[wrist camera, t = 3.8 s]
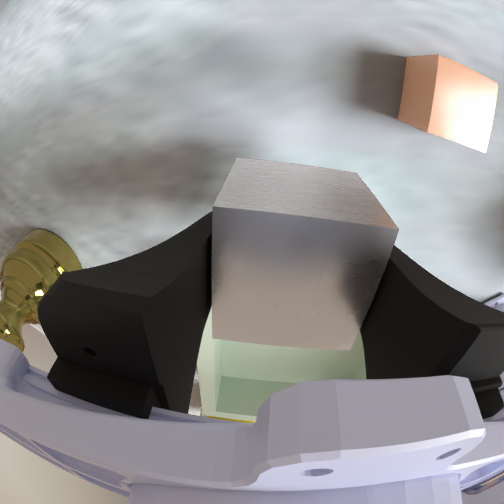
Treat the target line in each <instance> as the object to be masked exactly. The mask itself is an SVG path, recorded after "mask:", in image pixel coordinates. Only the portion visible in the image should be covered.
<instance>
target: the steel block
mask: <svg viewBox="0 0 504 504" xmlns="http://www.w3.org/2000/svg"><path fill="white" fill-rule="evenodd" d="M398 231H399V229H398V227H397V226H396V225H395V223H394V222H393V220H392V219H391V218H390V216H389V215H388V213H387V212H386V211H385V209H384V208H383V206H382V205H381V204H380V202H379V201H378V200H377V198H376V197H375V196H374V194H373V193H372V192H371V191H370V189H369V188H368V187H367V185H366V184H365V183H364V182H363V180H362V179H361V178H360V177H359V175H358V174H357V173H353V172H347V171H341V170H335V169H329V168H323V167H316V166H309V165H302V164H294V163H286V162H278V161H269V160H260V159H249V158H238V157H237V158H236V160H235V162H234V164H233V166H232V168H231V170H230V172H229V174H228V176H227V178H226V180H225V182H224V184H223V186H222V188H221V190H220V192H219V194H218V196H217V198H216V200H215V203H214V205H213V215H212V339H219V340H227V341H235V342H244V343H253V344H262V345H273V346H284V347H296V348H311V349H328V350H350V349H351V347H352V345H353V343H354V341H355V339H356V337H357V334H358V332H359V330H360V328H361V326H362V324H363V321H364V319H365V317H366V315H367V312H368V310H369V308H370V305H371V303H372V301H373V298H374V296H375V293H376V291H377V288H378V286H379V283H380V281H381V278H382V276H383V273H384V270H385V268H386V265H387V262H388V260H389V257H390V254H391V251H392V249H393V246H394V243H395V240H396V237H397V234H398Z"/></svg>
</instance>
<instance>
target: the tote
mask: <svg viewBox="0 0 504 504" xmlns="http://www.w3.org/2000/svg"><path fill="white" fill-rule="evenodd" d="M197 369H198V379H199V388H200V396H201V404H202V412H203V415H207V416H214V417H221V418H228V419H236V420H245V421H256V417H257V413H258V409H259V407H260V406H261V405H262V404H263V403H264V402H265V401H266V400H267V398H268V397H269V396H270V395H271V394H273V393H275V392H276V391H279V390H282V389H284V388H287V387H290V386H293V385H295V384H298V383H300V382H309V381H319V380H329V379H366V367H365V357H364V348H363V342H362V337H361V333H360V330H359V332H358V334H357V337H356V339H355V341H354V343H353V345H352V347H351V349H350V350H328V349H311V348H296V347H284V346H273V345H262V344H253V343H244V342H235V341H227V340H219V339H212V307H211V310H210V313H209V316H208V319H207V321H206V324H205V328H204V331H203V335H202V340H201V345H200V349H199V354H198V359H197Z"/></svg>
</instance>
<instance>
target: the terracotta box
mask: <svg viewBox="0 0 504 504" xmlns="http://www.w3.org/2000/svg"><path fill="white" fill-rule="evenodd" d="M497 91H498V84H497V83H496V82H494V81H492V80H490V79H489V78H487V77H485V76H483V75H481V74H479V73H477V72H475V71H473V70H471V69H469V68H467V67H465V66H463V65H461V64H459V63H457V62H455V61H453V60H450V59H448V58H446V57H443V56H441V55H424V56H413V57H406V66H405V75H404V82H403V89H402V96H401V103H400V109H399V115H398V120H400V121H402V122H404V123H407V124H409V125H412V126H414V127H416V128H418V129H421V130H423V131H425V132H427V133H431V134H434V135H437V136H440V137H443V138H446V139H449V140H452V141H455V142H457V143H460V144H463V145H466V146H468V147H471V148H473V149H476V150H479V151H481V152H483V153H486V151H487V147H488V142H489V138H490V133H491V128H492V123H493V117H494V111H495V105H496V98H497Z"/></svg>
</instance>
